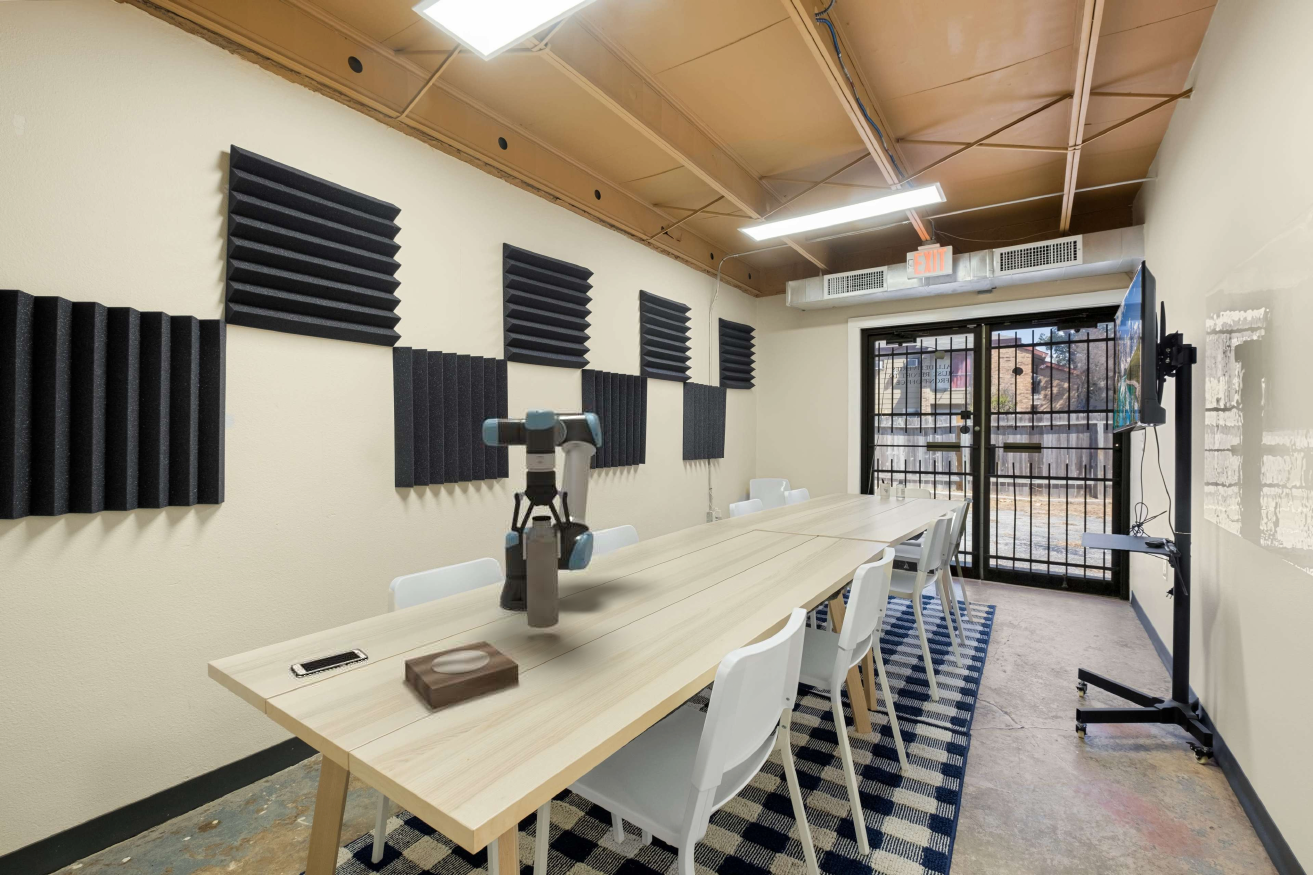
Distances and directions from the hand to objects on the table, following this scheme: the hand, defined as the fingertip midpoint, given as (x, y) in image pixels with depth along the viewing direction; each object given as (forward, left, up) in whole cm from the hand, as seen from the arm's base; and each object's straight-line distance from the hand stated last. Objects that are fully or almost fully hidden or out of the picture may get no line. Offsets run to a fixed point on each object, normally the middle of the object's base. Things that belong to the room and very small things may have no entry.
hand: (542, 557), depth 151 cm
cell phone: (-17, -46, -21) cm, 54 cm away
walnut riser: (+12, -26, -21) cm, 36 cm away
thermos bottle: (0, 0, -17) cm, 17 cm away
